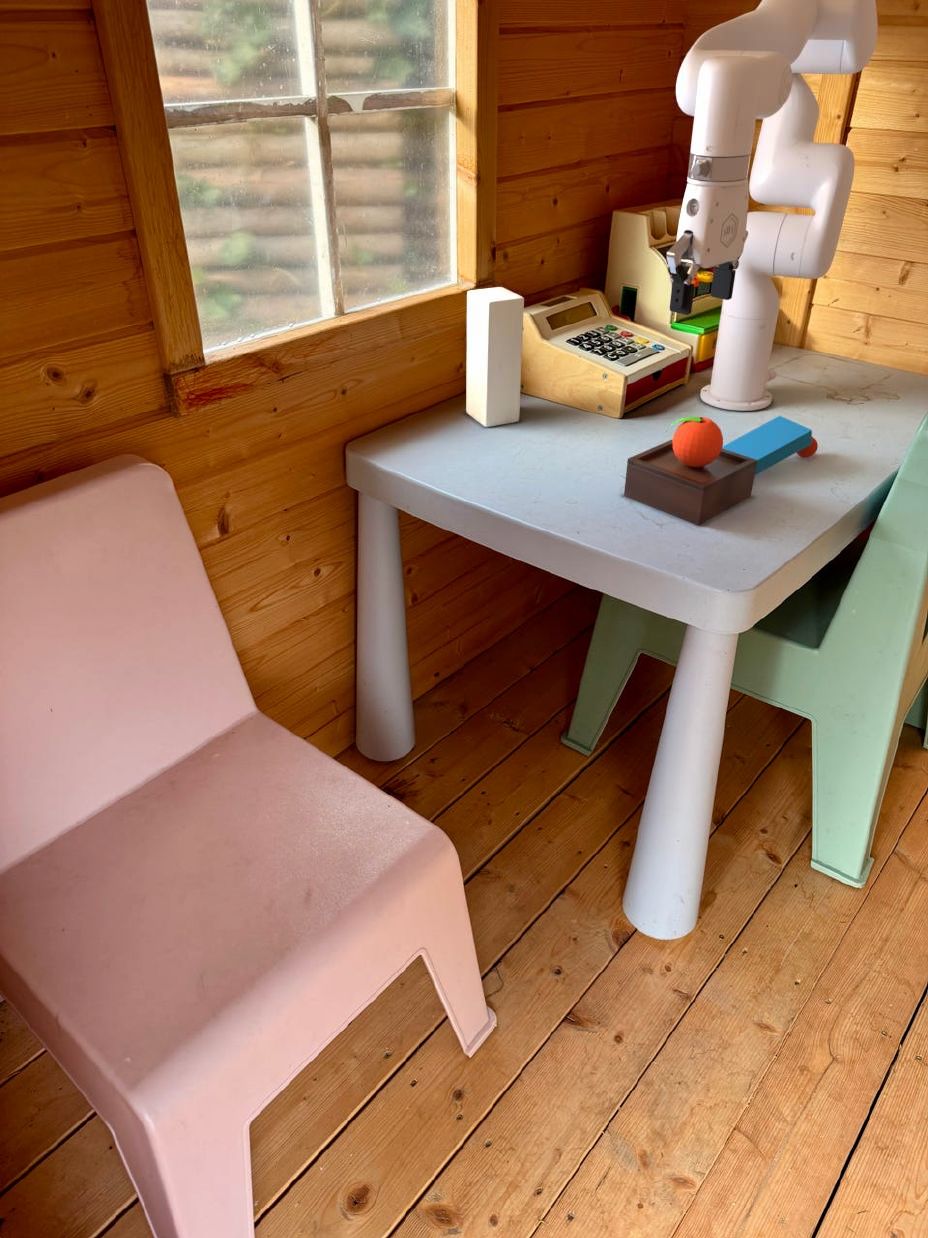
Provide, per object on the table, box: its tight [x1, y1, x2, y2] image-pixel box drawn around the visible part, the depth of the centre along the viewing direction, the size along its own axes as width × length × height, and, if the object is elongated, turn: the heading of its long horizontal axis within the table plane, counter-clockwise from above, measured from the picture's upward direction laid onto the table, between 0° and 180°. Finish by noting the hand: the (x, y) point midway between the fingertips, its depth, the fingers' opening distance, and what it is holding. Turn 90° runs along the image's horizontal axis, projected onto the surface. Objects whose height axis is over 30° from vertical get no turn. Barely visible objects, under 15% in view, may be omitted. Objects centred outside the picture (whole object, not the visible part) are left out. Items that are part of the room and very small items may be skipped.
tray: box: [623, 438, 758, 526], centre depth 131 cm, size 13×13×6 cm
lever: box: [722, 415, 819, 476], centre depth 140 cm, size 7×7×18 cm
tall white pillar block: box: [465, 286, 525, 428], centre depth 153 cm, size 8×7×21 cm
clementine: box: [665, 416, 724, 467], centre depth 127 cm, size 8×7×7 cm
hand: (700, 305), depth 126 cm, fingers open, 9 cm apart
